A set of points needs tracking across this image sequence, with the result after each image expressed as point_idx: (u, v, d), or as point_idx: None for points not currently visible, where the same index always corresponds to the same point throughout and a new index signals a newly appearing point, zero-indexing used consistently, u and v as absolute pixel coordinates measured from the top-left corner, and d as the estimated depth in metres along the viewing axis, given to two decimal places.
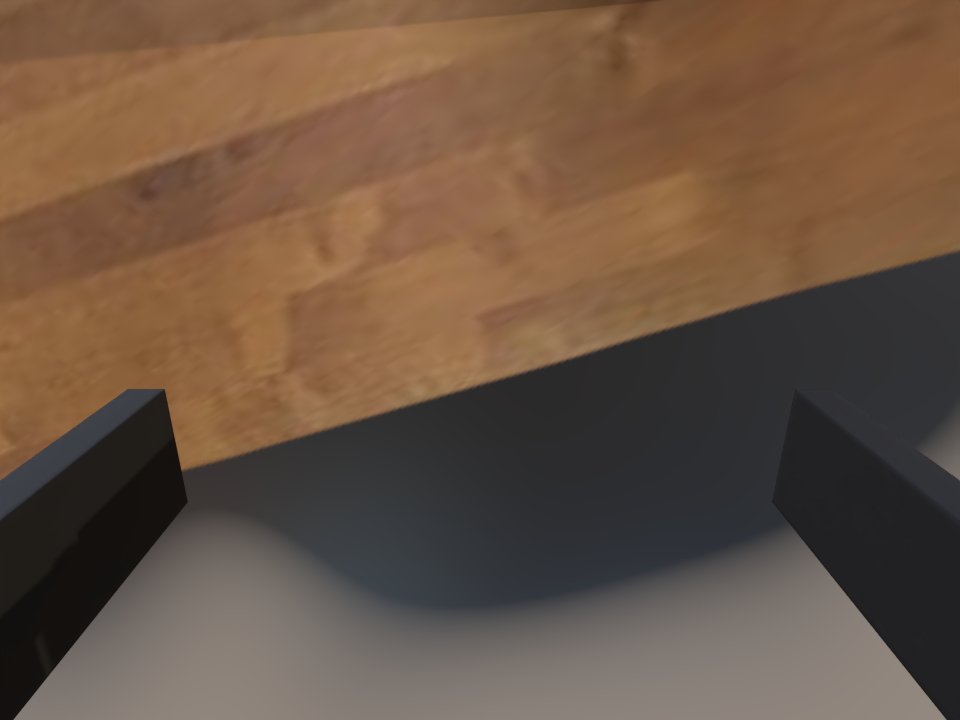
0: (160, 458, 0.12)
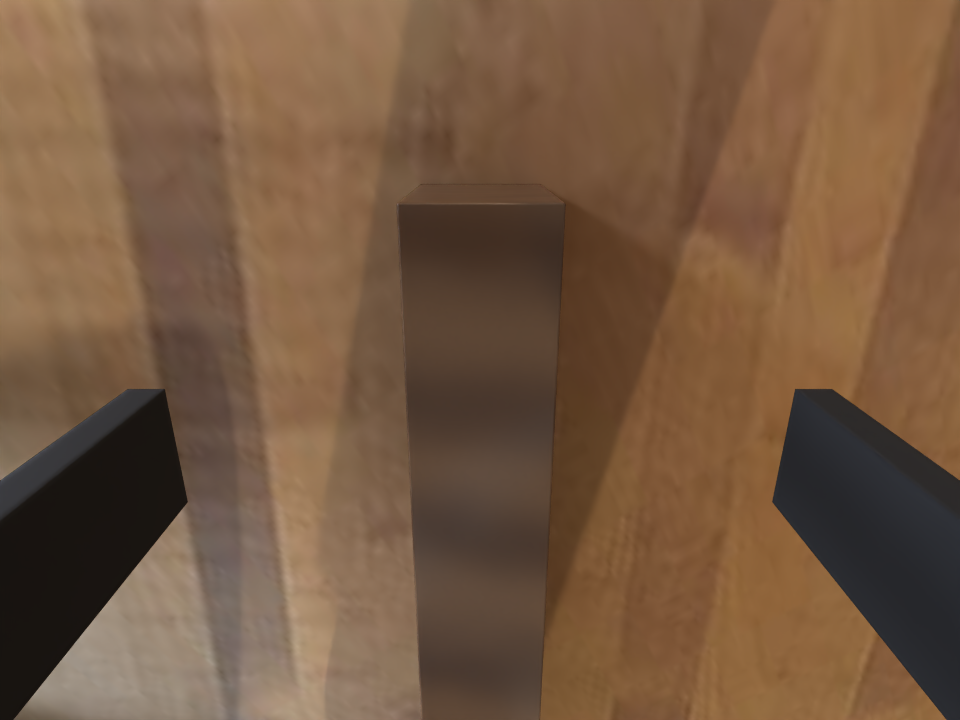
0: (160, 458, 0.12)
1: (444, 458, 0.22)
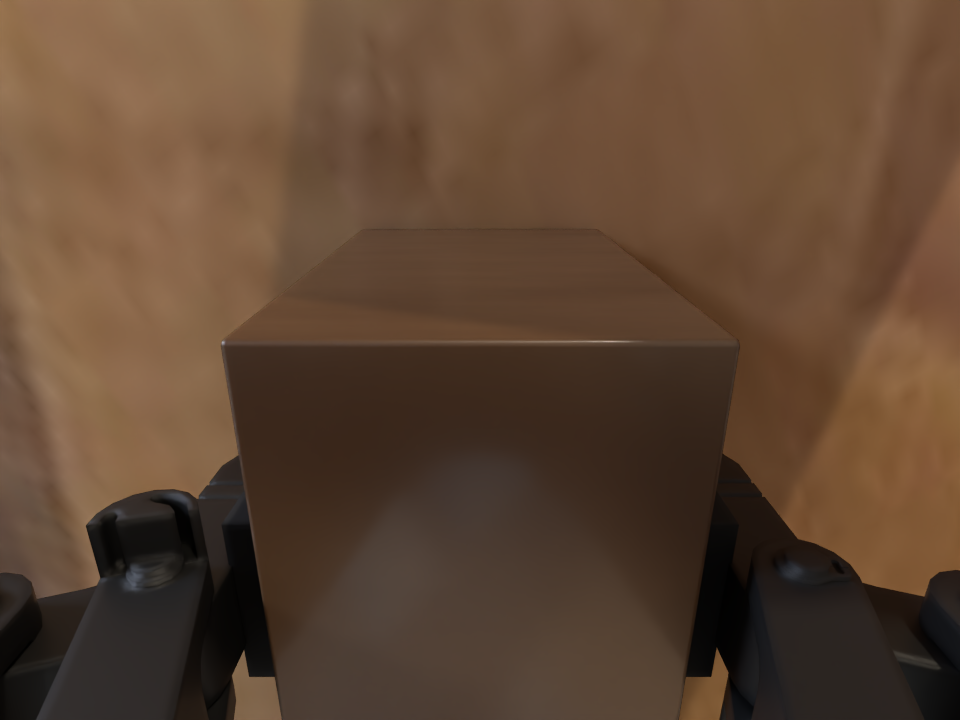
0: None
1: None
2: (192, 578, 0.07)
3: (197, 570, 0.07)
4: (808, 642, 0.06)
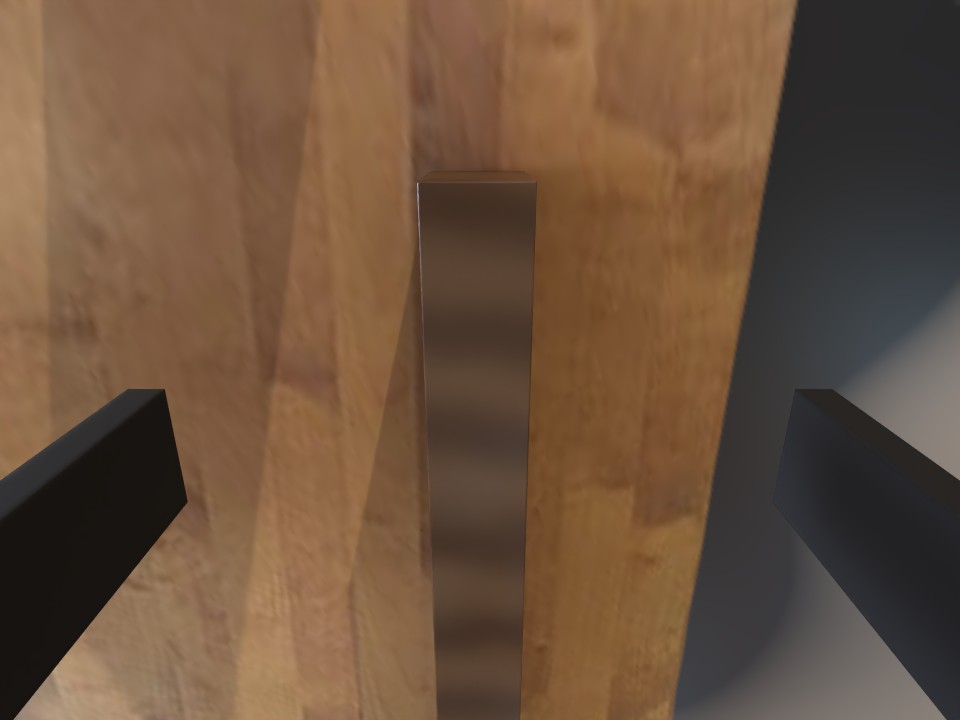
0: (160, 458, 0.12)
1: (450, 372, 0.30)
2: None
3: None
4: None
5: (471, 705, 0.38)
